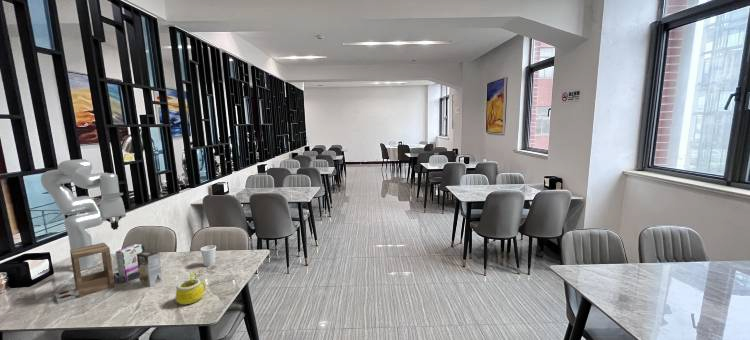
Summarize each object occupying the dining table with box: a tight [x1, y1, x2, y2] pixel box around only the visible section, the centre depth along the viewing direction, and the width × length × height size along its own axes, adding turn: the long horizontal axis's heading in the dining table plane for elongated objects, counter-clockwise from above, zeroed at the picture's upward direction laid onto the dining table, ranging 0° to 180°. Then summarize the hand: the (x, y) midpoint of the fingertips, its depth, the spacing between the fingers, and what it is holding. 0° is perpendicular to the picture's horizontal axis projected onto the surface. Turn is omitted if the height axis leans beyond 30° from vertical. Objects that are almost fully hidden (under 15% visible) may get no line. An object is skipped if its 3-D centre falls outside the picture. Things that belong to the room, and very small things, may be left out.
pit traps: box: [54, 288, 76, 305], centre depth 154 cm, size 12×6×1 cm, turn 49°
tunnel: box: [69, 242, 115, 298], centre depth 161 cm, size 13×13×21 cm
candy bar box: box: [115, 243, 143, 283], centre depth 173 cm, size 11×5×16 cm, turn 168°
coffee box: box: [137, 249, 163, 287], centre depth 166 cm, size 9×6×16 cm
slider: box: [113, 244, 146, 284], centre depth 177 cm, size 19×16×12 cm
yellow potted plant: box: [175, 269, 207, 305], centre depth 148 cm, size 13×11×12 cm
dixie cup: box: [199, 245, 217, 267], centre depth 188 cm, size 8×8×10 cm
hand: (115, 229), depth 178 cm, fingers closed
